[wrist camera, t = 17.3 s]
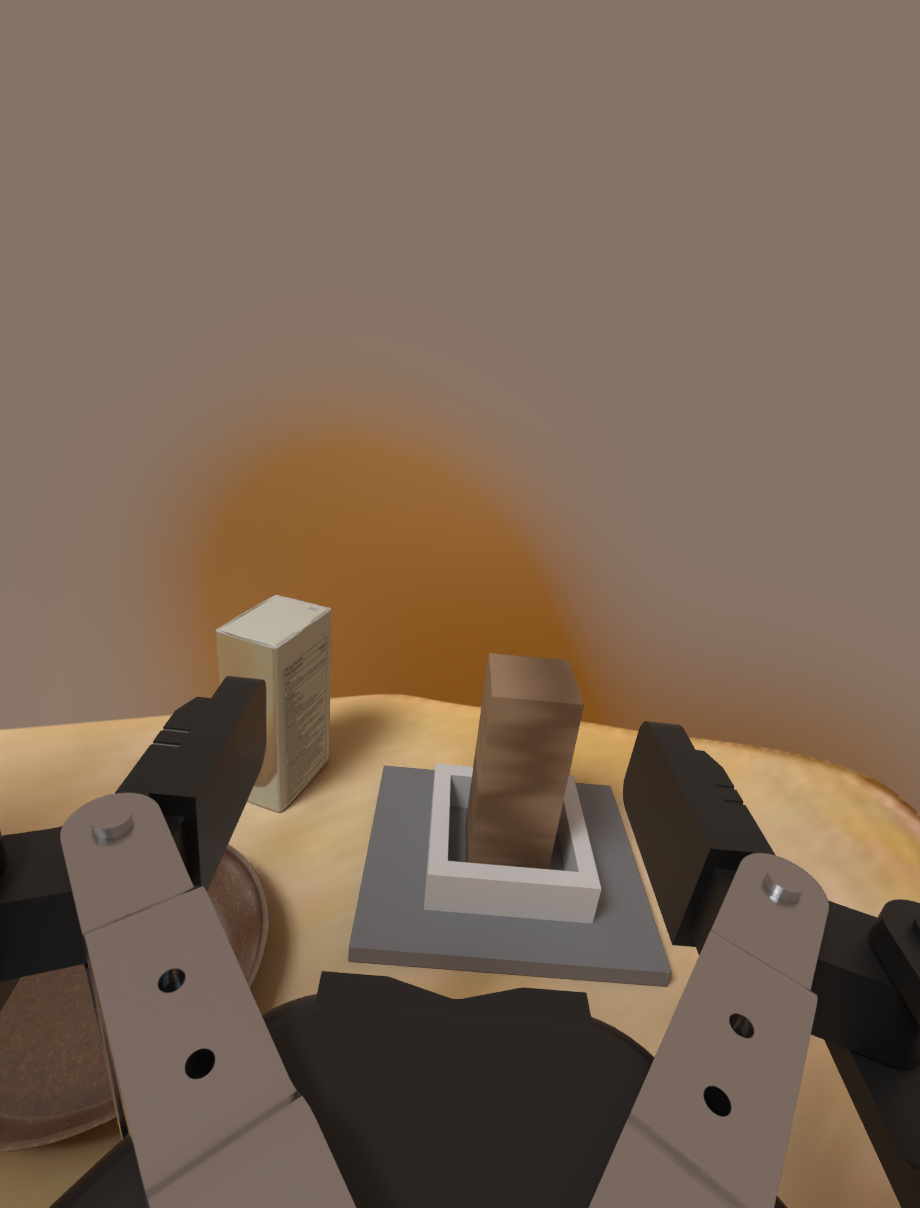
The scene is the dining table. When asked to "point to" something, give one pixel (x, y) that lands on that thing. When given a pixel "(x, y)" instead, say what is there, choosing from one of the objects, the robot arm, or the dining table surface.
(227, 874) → the saucer
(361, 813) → the dining table surface
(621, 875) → the collar holder
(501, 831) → the walnut square peg
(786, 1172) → the dining table surface
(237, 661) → the skincare box
